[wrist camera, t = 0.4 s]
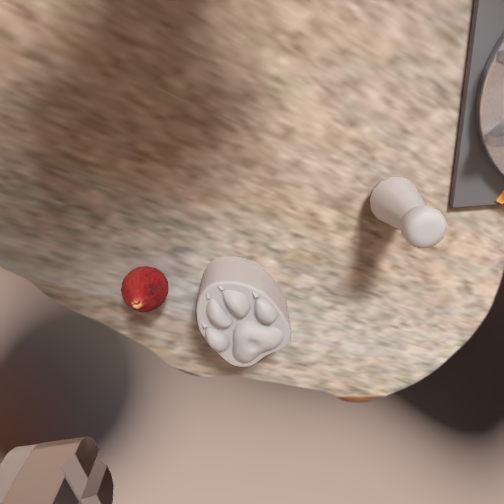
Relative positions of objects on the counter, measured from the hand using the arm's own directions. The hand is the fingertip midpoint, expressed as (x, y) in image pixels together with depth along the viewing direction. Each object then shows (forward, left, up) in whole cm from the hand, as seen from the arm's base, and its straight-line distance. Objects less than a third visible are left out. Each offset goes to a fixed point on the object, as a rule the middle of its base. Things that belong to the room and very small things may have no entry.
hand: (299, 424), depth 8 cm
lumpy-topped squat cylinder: (+23, -4, -46) cm, 51 cm away
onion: (+19, -16, -46) cm, 52 cm away
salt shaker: (+10, +16, -46) cm, 49 cm away
